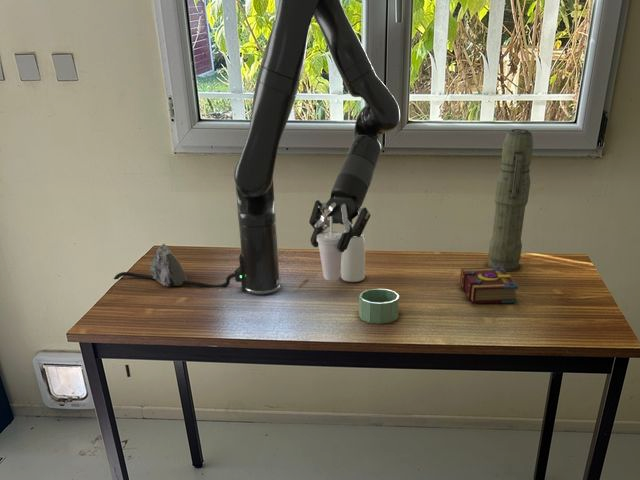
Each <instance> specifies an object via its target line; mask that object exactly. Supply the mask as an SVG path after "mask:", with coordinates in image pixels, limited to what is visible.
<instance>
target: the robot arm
mask: <svg viewBox="0 0 640 480" xmlns="http://www.w3.org/2000/svg"><path fill="white" fill-rule="evenodd" d="M275 15H276V16H275V19H274V21H273V24H272V27H271V29H270V33H269V36H268V38H267V42H266V45H265V49H264V52H263V56H262V59H261V62H260V65H259V69H258V73H257V77H256V82H255V87H254V92H253V98H252V104H251V113H250V122H249V129H248V132H247V136H246V140H245V143H244V145H243V148H242V151H241V153H240V155H239V156H238V157H237V159H236V161H235V163H234V168H233V180H234V183H235V191H236V192H235V194H236V207H237V208H236V209H237V221H238V229H239V240H240V252H241V253H240V254H238V260H239V266H238V267H237V268H236V269H235V270H234V272H233V273H230V274H229V275H227V276H226V279H225V282H224V283H221V284H209V283H204V282H200V281H199V282H198V281H191V280H190V281H189V280H187V281H183V284H182V285H185V286H194V287H202V288H226V287H227V286H228V287H229V285H230V283H231V279H232V278H234V279H235V282H237V283H241V291H242V292H245V293H248V294H252V295H261V296H262V295H270V294H274V293H276V292H278V291H280V289H281V281H282V279H281V277H280V268H279V252H278V251H279V250H278V235H277V218H276V202H275V190H274V173H275V167H276V160H277V156H278V151H279V146H280V142H281V139H282V137H283V134H284V131H285V130H286V129H285V128H286V126H287V124H288V120H289V118H290V115H291V113H292V110H293V107H294V104H295V100H296V97H297V94H298V91H299V87H300V83H301V81H302V76H303V71H304V66H305V61H306V53H307V46H308V39H309V31H310V27H311V23H312V20H313V17H314V20H315V22H316V23H317V25H318V27H319V29H320V31H321V33H322V35H323V38H324V40H325V43H326V45H327V48H328V50H329V52H330V53H329V54H330V55H331V58H332V61H333V62H334V65H335V67H336V69H337V71H338V73H339V75H340V77H341V79H342V82H343V83H344V85H345V87H346V89H347V91H348V93H349V95H350V96H351V97H353V98H362V100H363V101H364V102H365V103H366V105H365V106H364V107H363V108H362V109H360V111H359V113H358V115H357V117H356V119H355V124H354V130H353V136H352V138H353V139H352V143H351V145H350V147H349V149H348V152H347V155H346V157H345V159H344V161H343V163H342V165H341V167H340V169H339V172H338V174H337V176H336V179H335V181H334V184H333V187H332V189H331V192H330V198H329V199H328V200H327V201H326V202H321V201H320V200H318V199H316V200H315V201H314V205H313V208H312V211H311V215H310V216H309V217H310V218H309V221H308V224H310V226H311V227H312V228H313V231H312V234H311V236H310V244H311V245H312V247H313V248H319V244H318V242H317V240H316V239H317V235H318V234H320V233H323V232H326V230H327V229H328V228H330V216H332V225H335V224H336V225H337V224H340V225H341V226H343V230H344V232H345V233H344V232H341V233H342V236H341V238H340V241H339V244H338V246H337V249H338V250H339V251H340V252H344V250H346V249H347V247H348V244H349V242H350V239H351V238H352V237H353V236H357V237H360V236H361V234H362V233H364V230H365V228H366V226H367V224H368V222H369V220H370V218H371V213H370V210H368V208H367V207H362V206H363V203H364V201H365V199H366V196H367V194H368V191H369V189H370V186H371V184H372V181H373V177H374V173H375V171H376V168H377V165H378V163H379V160H380V157H381V155H382V145H381V143H380V141H379V139H380V137H381V136H382V135H384V134H386V133H389V132H391V131H393V130H395V128H397V127H398V125H399V124H400V121H401V110H400V107H399V104H398V102H397V100H396V98H395V97H394V95H393V94H392V93H391V91H390V90H389V89H388V87H387V86H386V85H385V84H384V82H383V81H382V79H380V78H379V77H378V75H377V74H376V71H375V69H374V67H373V66H372V63H371V60H370V59H369V57H368V55H367V52H366V50H365V48H364V47H363V45H362V42H361V41H360V38H359V37H358V34H357V33H356V31H355V30H354V28H353V26H352V24H351V22H350V21H349V20H350V19H349V18H348V16H347V14H346V12H345V10H344V7H343V5H342V2H341V0H279V1H278V6H277V11H276V14H275ZM361 207H362V208H361ZM356 217H357V218H356ZM355 218H356V220H355V223H353V221H354V219H355ZM125 276H126V277H133V278H144V279H151V280H155V279H154V277H153V276H152V274H145V273H135V272H130V271H122V272H119V273H117V274H115V276H114V277H113V280H118V279H120V278H121V277H125ZM124 367H125V371H126V377H127V378H130V377H131V371H130V366H129V364H125V365H124Z"/></svg>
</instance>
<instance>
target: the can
mask: <svg viewBox="0 0 640 480" xmlns="http://www.w3.org/2000/svg"><path fill="white" fill-rule="evenodd" d="M343 233H345V231H344V232H343ZM340 278H341V279H342V281H344V282H347V283H359V282H362V281H363V280H364V279H365V278H366V238H365V237H364V232H362V234H361V236H360V237H357V236H353V237H352V238H351V239H350V242H349V244H348V247H347V249H346V250H344V252H342V258H341V268H340Z"/></svg>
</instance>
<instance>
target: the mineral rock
mask: <svg viewBox="0 0 640 480" xmlns="http://www.w3.org/2000/svg"><path fill="white" fill-rule="evenodd" d="M149 270H150V271H149V272H150V275H152V276H153V277H154V279H153V280H155V281H156V282H158V283H160V284H161V285H162V286H165V287H168V288H170V287H174V286H175V287H176V286H177V287H180V286H181V285H184V284H183V281H188V277H187V276H186V272H185V270H184V267H183V265H182V263H181V261H180V260H178V259H177V257H176V256H175V255H174V253H173V252H172V251H171V249H170V247H169V246H168V245H167V244H166V243H162V244H161V245H160V246H159V247H157V250H156V252H155V255H154V257H153V259H151V262H150V268H149Z"/></svg>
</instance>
